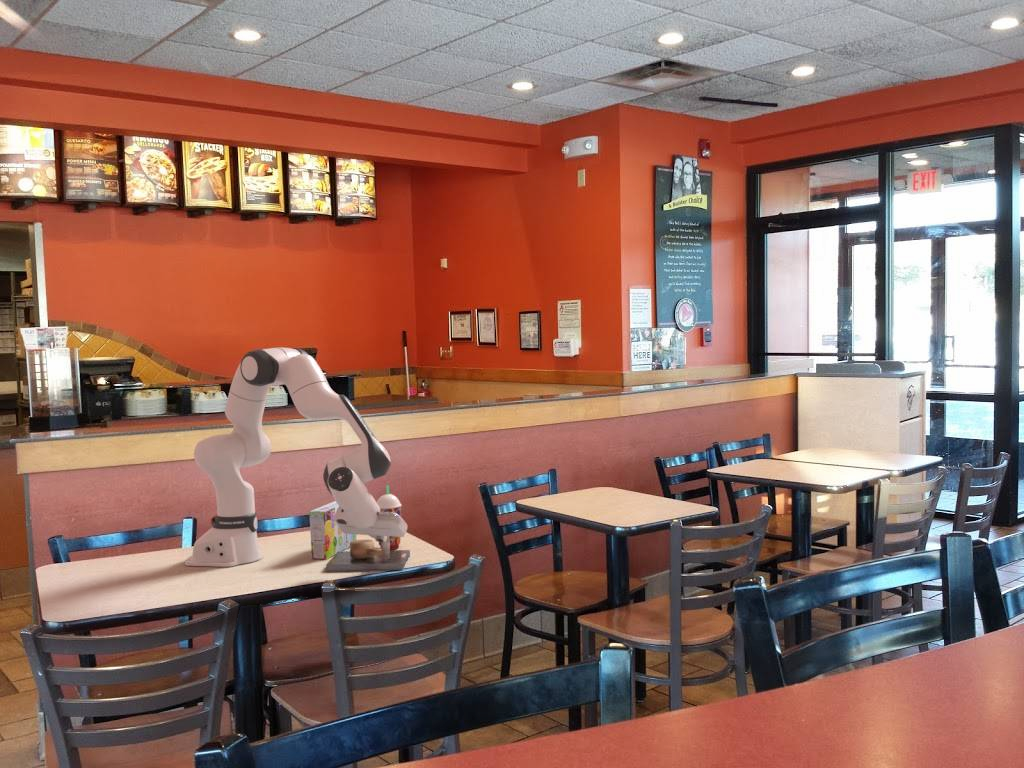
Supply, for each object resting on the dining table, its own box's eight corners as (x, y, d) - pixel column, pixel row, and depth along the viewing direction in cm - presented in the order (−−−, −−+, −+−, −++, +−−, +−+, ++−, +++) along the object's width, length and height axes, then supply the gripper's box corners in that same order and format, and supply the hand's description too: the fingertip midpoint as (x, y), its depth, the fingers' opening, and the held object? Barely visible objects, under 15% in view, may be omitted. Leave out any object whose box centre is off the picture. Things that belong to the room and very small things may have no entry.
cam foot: (345, 556, 267) (343, 514, 266) (363, 551, 272) (361, 510, 272) (380, 563, 258) (379, 519, 257) (398, 558, 263) (396, 515, 263)
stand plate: (326, 571, 260) (326, 563, 260) (338, 558, 276) (337, 550, 276) (402, 569, 259) (402, 562, 259) (409, 556, 275) (409, 548, 275)
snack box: (341, 543, 296) (339, 498, 295) (357, 544, 294) (355, 498, 294) (310, 559, 275) (308, 510, 275) (327, 560, 274) (325, 510, 273)
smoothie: (398, 551, 283) (396, 487, 282) (373, 550, 284) (370, 487, 283) (406, 545, 291) (403, 483, 290) (381, 544, 292) (378, 483, 291)
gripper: (400, 504, 248) (417, 532, 257) (336, 501, 256) (355, 528, 265) (392, 523, 244) (410, 551, 254) (328, 519, 252) (348, 547, 261)
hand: (382, 539), depth 259 cm, fingers closed, pressing on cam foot
